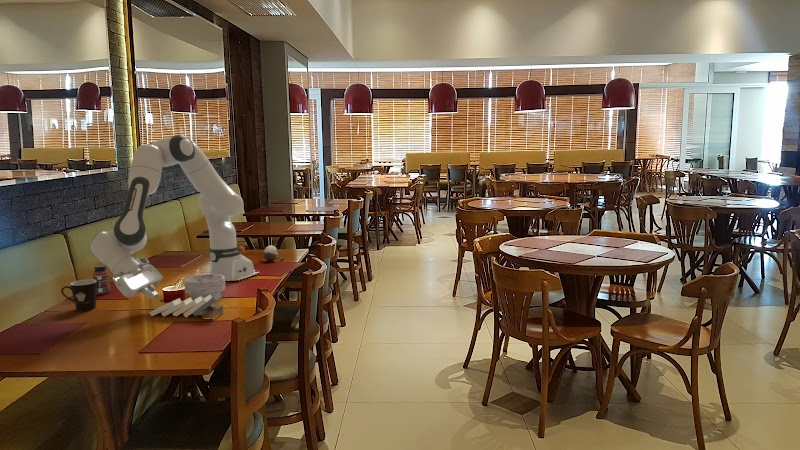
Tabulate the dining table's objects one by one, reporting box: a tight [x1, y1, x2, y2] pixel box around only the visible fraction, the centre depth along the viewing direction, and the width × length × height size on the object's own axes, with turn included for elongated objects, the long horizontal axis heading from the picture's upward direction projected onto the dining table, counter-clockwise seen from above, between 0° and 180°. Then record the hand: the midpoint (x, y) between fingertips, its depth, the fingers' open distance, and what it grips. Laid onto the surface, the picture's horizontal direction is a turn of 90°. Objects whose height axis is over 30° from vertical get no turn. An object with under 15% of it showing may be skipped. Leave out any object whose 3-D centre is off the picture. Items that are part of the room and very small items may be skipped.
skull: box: [263, 245, 284, 262], centre depth 301 cm, size 12×10×10 cm
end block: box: [201, 304, 224, 319], centre depth 210 cm, size 4×8×3 cm, turn 171°
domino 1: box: [149, 297, 182, 317], centre depth 213 cm, size 2×5×10 cm
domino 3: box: [171, 296, 203, 317], centre depth 212 cm, size 2×5×10 cm
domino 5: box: [192, 293, 223, 317], centre depth 210 cm, size 2×5×10 cm
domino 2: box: [160, 296, 194, 317], centre depth 212 cm, size 2×5×10 cm
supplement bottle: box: [92, 264, 111, 296], centre depth 243 cm, size 6×6×11 cm
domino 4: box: [182, 295, 212, 318], centre depth 211 cm, size 2×5×10 cm
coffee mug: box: [61, 279, 97, 312], centre depth 222 cm, size 12×9×10 cm
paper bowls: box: [183, 273, 226, 300], centre depth 234 cm, size 15×15×8 cm
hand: (155, 297), depth 213 cm, fingers closed
